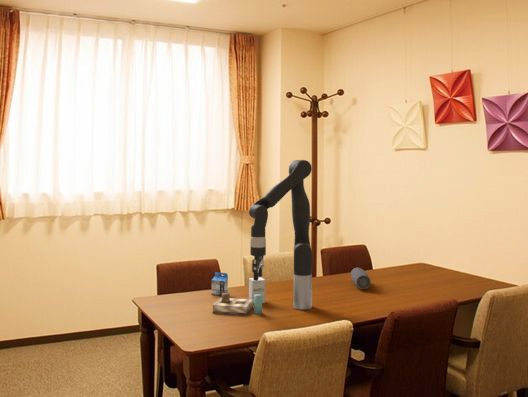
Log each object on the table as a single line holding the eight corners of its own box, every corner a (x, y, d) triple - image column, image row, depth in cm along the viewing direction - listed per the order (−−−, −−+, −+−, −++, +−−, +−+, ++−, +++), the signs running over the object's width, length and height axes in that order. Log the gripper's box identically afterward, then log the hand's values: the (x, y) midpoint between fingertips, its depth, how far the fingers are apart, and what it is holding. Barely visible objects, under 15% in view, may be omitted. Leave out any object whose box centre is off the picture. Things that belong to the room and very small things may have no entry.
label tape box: (211, 294, 288) (210, 273, 287) (215, 293, 291) (214, 271, 291) (224, 296, 284) (224, 274, 283) (228, 294, 287) (228, 273, 287)
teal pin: (262, 312, 253) (262, 294, 252) (261, 314, 249) (261, 296, 248) (254, 311, 254) (254, 294, 253) (253, 314, 250) (253, 296, 249)
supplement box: (251, 304, 267) (251, 280, 267) (248, 300, 274) (248, 277, 274) (265, 303, 269) (265, 279, 268) (261, 299, 276) (261, 276, 276)
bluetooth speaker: (371, 291, 295) (371, 274, 295) (355, 291, 296) (355, 274, 295) (364, 282, 318) (364, 266, 318) (349, 282, 318) (349, 266, 318)
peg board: (252, 307, 262) (252, 291, 262) (246, 315, 248) (246, 298, 248) (220, 305, 266) (220, 290, 265) (212, 312, 252) (212, 296, 251)
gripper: (262, 248, 242) (262, 282, 243) (268, 243, 255) (268, 275, 256) (247, 247, 243) (246, 281, 244) (254, 243, 257) (253, 275, 258)
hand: (257, 278), depth 250 cm, fingers open, 8 cm apart
